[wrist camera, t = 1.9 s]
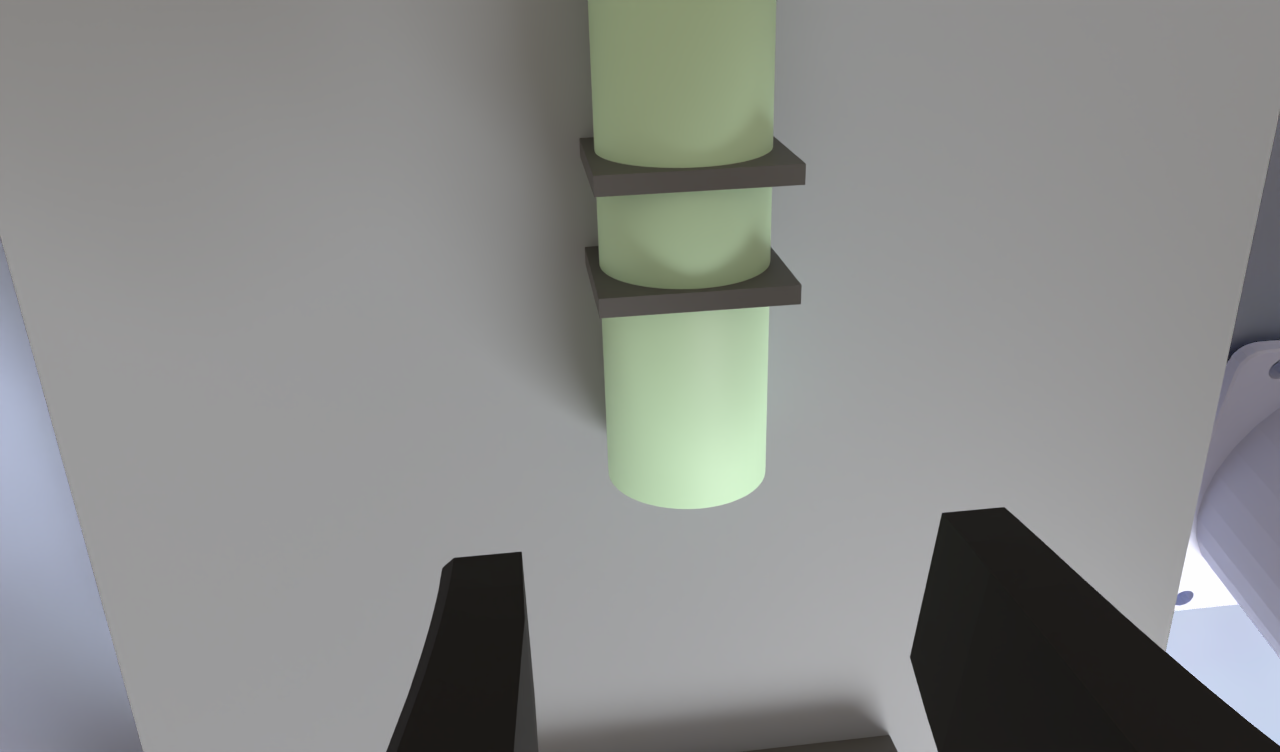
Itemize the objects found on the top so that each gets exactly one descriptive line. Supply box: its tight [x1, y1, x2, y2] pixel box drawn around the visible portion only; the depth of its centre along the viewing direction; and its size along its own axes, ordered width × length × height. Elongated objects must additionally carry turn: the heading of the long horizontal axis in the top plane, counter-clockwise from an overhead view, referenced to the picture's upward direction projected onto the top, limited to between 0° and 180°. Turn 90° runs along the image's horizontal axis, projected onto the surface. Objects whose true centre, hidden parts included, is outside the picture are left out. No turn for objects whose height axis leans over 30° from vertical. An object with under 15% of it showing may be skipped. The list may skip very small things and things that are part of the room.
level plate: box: [0, 0, 1280, 752], centre depth 12 cm, size 14×18×3 cm
